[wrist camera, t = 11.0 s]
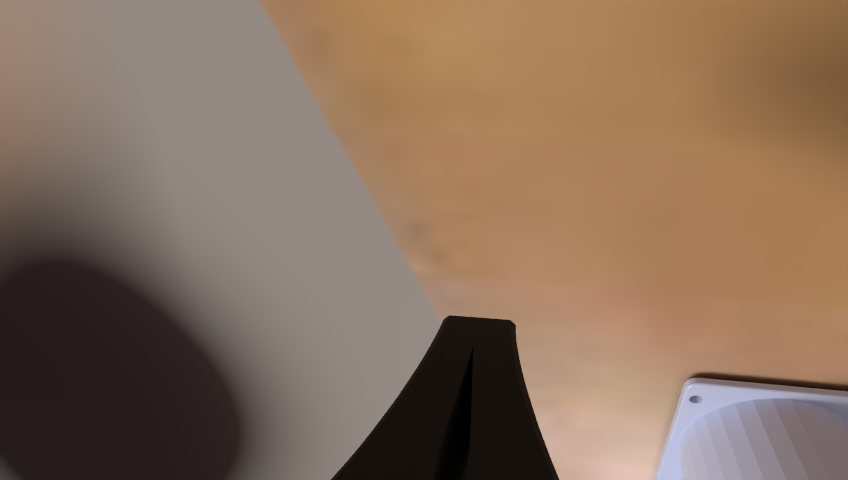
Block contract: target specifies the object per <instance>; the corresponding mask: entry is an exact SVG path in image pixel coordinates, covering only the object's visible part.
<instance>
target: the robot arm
mask: <svg viewBox="0 0 848 480" xmlns="http://www.w3.org/2000/svg"><path fill="white" fill-rule="evenodd" d="M696 395H697V396H696ZM331 480H559V478H558V475H557V473H556V471H555V468H554V466H553V463H552V461H551V458H550V455H549V453H548V450H547V448H546V445H545V442H544V440H543V437H542V434H541V432H540V429H539V426H538V423H537V420H536V417H535V414H534V411H533V408H532V404H531V401H530V398H529V395H528V392H527V388H526V385H525V381H524V377H523V373H522V369H521V364H520V360H519V355H518V349H517V343H516V325H515V324H514V323H513V322H512V321H511V320H502V319H489V318H476V317H463V316H450V315H449V316H448V317H446V318H445V319H444V320H443V322H442V325H441V327H440V329H439V331H438V333H437V335H436V336H435V338H434V340H433V342H432V344H431V346H430V347H429V349H428V351H427V352H426V354H425V356H424V358H423V359H422V361H421V362H420V364H419V366H418V367H417V369H416V370H415V372H414V373H413V375H412V376H411V378H410V379H409V381H408V382H407V384H406V385H405V387H404V388H403V390H402V391H401V393H400V394H399V396H398V397H397V398H396V400H395V401H394V403H393V404H392V405H391V407H390V408H389V409H388V411H387V412H386V413H385V415H384V416H383V417H382V419H381V420H380V421H379V423H378V424H377V425H376V427H375V428H374V429H373V431H372V432H371V433H370V434H369V436H368V437H367V438H366V439H365V441H364V442H363V443H362V444H361V446H360V447H359V448H358V449H357V451H356V452H355V453H354V454H353V455H352V456H351V458H350V459H349V460H348V461H347V462H346V463H345V464H344V466H343V467H342V468H341V469H340V470H339V471H338V472H337V474H336V475H335V476H334V477H333V478H332V479H331ZM653 480H848V391H838V390H827V389H816V388H806V387H795V386H784V385H773V384H762V383H751V382H740V381H729V380H718V379H707V378H692V379H689V380H688V381H686V382H685V384H684V386H683V389H682V392H681V395H680V399H679V402H678V405H677V408H676V411H675V414H674V417H673V420H672V423H671V426H670V429H669V433H668V436H667V439H666V442H665V445H664V448H663V451H662V454H661V457H660V460H659V463H658V467H657V470H656V473H655V476H654V479H653Z"/></svg>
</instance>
